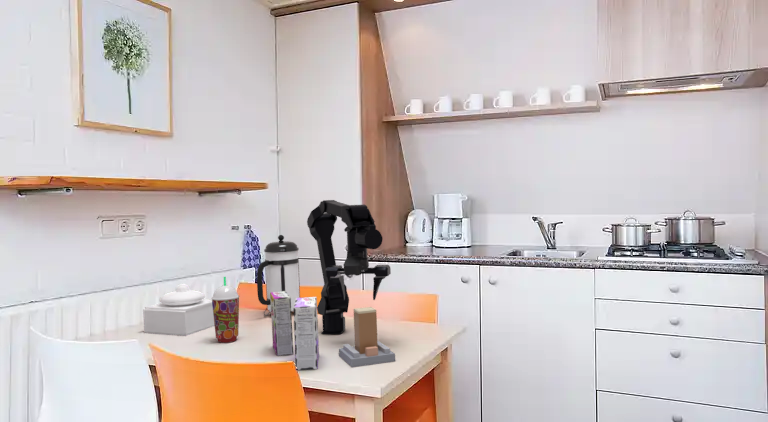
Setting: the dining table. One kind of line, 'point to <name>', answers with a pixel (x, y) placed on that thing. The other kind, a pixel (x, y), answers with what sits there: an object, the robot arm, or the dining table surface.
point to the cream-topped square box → (365, 328)
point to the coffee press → (279, 271)
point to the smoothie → (226, 313)
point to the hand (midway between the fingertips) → (358, 299)
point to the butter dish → (179, 313)
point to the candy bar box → (281, 323)
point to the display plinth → (366, 355)
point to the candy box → (306, 333)
